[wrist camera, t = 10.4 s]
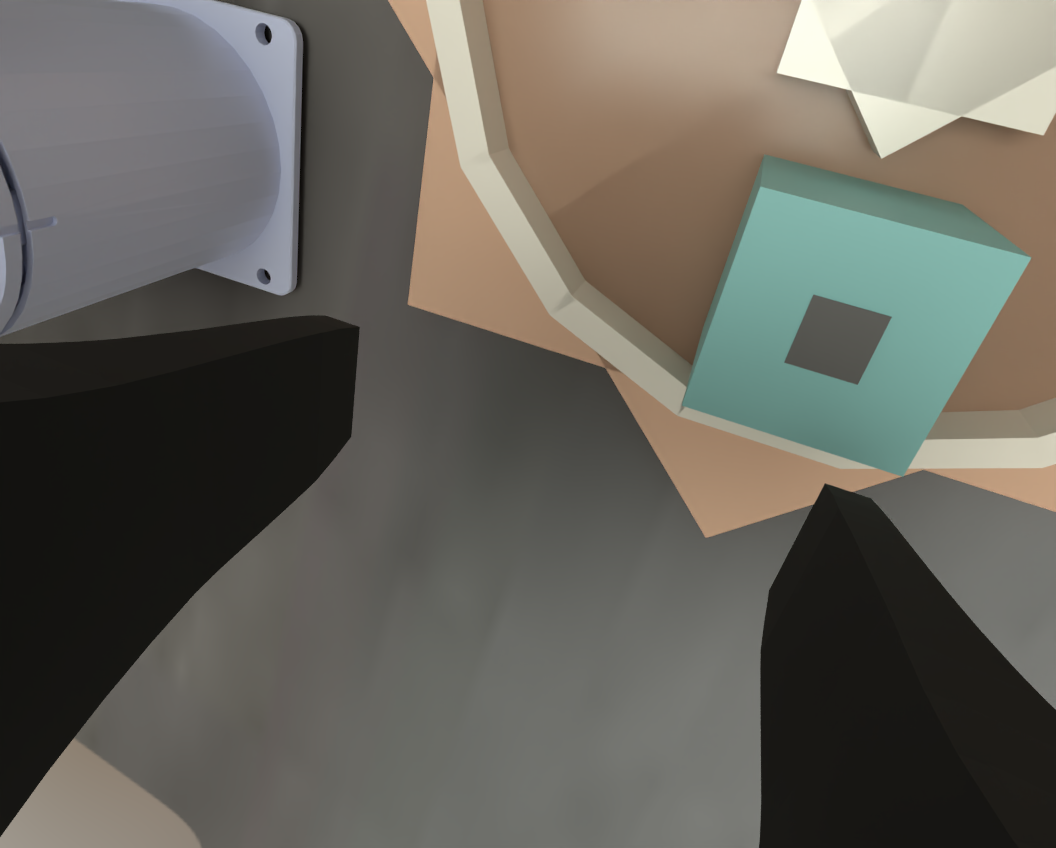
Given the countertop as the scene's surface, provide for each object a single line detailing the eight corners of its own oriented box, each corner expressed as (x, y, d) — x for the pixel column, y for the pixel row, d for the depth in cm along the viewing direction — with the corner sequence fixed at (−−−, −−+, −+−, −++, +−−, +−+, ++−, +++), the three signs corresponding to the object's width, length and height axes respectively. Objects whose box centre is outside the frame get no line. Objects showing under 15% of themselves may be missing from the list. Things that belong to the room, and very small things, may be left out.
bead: (702, 327, 19) (681, 406, 14) (764, 154, 16) (760, 186, 12) (872, 379, 18) (903, 477, 14) (962, 204, 16) (1032, 258, 11)
